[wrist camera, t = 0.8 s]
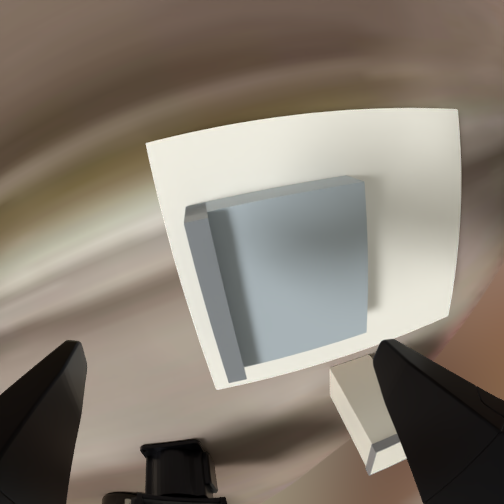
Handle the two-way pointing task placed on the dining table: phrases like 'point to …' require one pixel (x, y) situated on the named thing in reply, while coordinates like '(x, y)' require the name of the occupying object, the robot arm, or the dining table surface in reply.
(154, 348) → the dining table surface
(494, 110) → the dining table surface
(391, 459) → the peg
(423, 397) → the robot arm
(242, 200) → the panel
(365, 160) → the socket block
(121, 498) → the ink bottle
